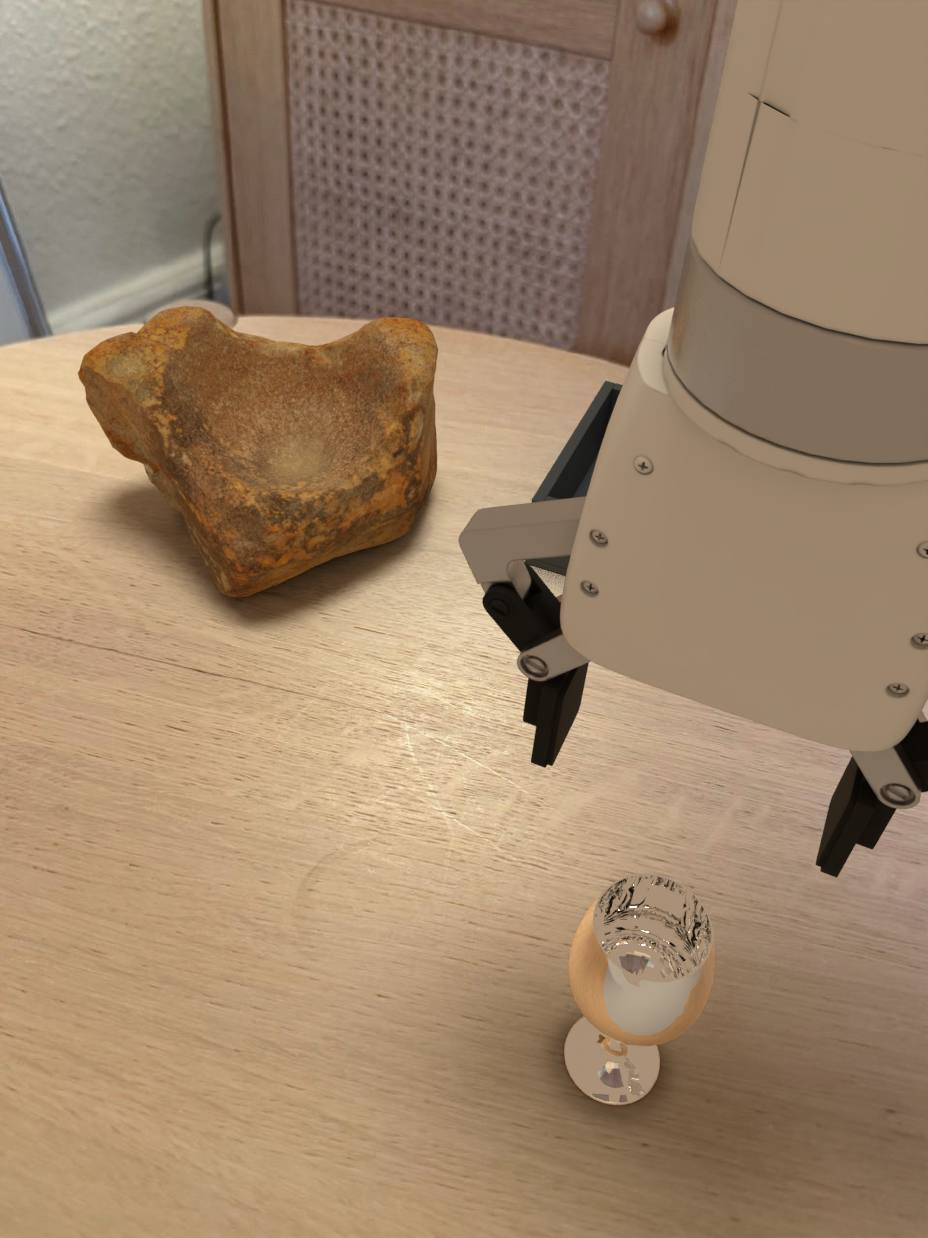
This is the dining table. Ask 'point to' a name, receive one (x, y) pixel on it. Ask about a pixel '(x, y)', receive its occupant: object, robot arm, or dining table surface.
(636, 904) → the wineglass
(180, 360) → the rough brown rock
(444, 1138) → the dining table surface
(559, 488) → the dish tub
